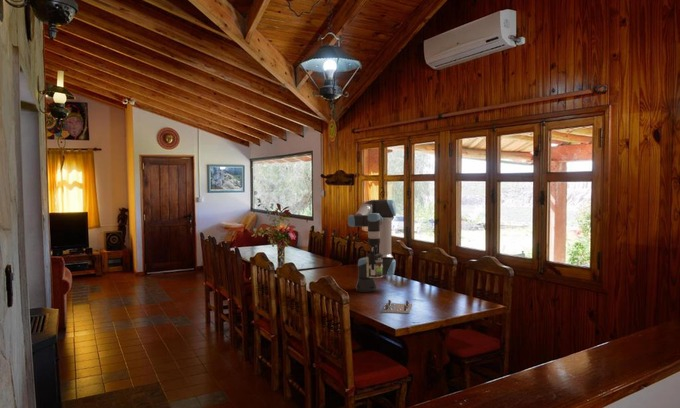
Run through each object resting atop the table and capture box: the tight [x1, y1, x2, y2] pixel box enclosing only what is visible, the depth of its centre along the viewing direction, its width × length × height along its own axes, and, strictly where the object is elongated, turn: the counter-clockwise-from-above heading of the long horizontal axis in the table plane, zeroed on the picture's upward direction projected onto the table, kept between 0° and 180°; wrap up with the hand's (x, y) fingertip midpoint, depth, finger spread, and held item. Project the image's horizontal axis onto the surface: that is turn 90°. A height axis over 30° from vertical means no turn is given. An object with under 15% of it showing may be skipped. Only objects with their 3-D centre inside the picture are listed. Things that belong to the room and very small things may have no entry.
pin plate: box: [381, 299, 413, 314], centre depth 304 cm, size 16×16×4 cm
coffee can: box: [365, 252, 384, 279], centre depth 312 cm, size 10×10×14 cm
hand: (374, 273), depth 312 cm, fingers closed on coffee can, 10 cm apart
